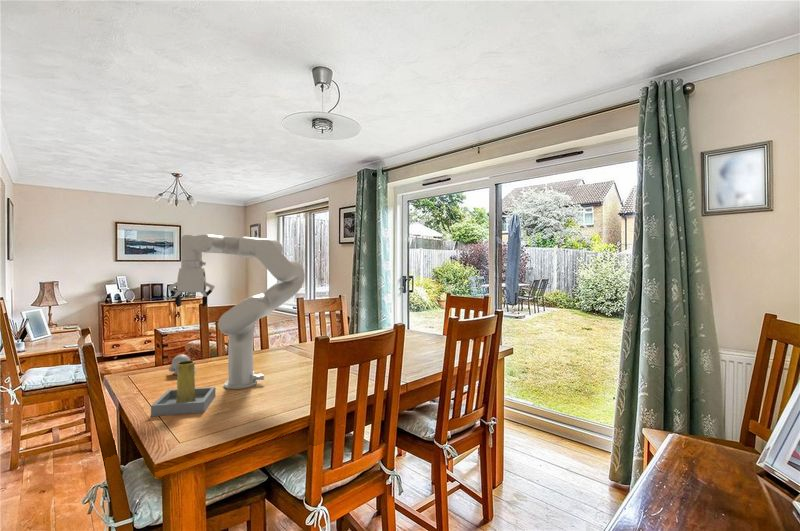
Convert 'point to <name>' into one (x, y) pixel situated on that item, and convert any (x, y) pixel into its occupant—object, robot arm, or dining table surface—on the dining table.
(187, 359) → the chubby cartoon animal
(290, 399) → the dining table surface
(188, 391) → the vase
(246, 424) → the dining table surface
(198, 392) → the tray
